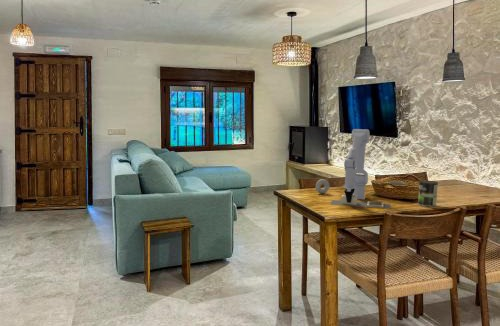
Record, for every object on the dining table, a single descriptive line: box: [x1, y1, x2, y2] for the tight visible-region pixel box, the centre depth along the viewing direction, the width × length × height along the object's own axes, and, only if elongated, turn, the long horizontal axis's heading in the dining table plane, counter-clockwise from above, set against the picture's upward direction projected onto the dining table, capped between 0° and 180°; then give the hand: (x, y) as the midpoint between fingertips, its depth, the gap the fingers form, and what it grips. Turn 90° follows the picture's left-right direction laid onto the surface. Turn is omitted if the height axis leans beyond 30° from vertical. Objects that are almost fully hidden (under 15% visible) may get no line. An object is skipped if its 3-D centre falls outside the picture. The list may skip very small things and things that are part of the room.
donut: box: [315, 178, 330, 195], centre depth 284 cm, size 10×4×10 cm, turn 107°
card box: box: [340, 194, 358, 205], centre depth 252 cm, size 9×5×5 cm, turn 73°
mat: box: [330, 199, 392, 210], centre depth 251 cm, size 13×34×1 cm, turn 73°
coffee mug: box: [388, 180, 406, 186], centre depth 274 cm, size 13×10×10 cm
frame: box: [366, 200, 384, 209], centre depth 248 cm, size 13×9×1 cm
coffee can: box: [417, 179, 439, 207], centre depth 252 cm, size 10×10×14 cm
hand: (349, 201), depth 252 cm, fingers closed on card box, 5 cm apart
